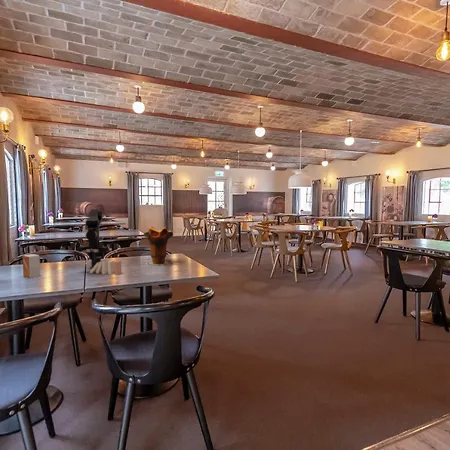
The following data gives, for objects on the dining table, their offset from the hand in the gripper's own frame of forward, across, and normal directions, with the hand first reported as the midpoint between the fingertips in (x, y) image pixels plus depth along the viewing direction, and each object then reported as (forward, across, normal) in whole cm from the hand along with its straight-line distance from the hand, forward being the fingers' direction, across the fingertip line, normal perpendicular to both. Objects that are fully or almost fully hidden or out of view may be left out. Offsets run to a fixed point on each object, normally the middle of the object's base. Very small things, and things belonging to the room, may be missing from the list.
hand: (93, 262), depth 203 cm
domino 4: (+7, -12, 0) cm, 14 cm away
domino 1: (+6, +1, 0) cm, 6 cm away
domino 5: (+7, -17, 0) cm, 18 cm away
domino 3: (+6, -8, 0) cm, 10 cm away
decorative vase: (+7, -28, -36) cm, 47 cm away
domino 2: (+6, -3, 0) cm, 7 cm away
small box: (+7, +31, +16) cm, 36 cm away
